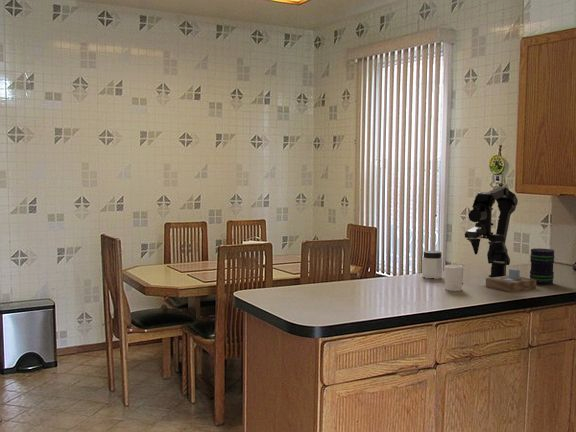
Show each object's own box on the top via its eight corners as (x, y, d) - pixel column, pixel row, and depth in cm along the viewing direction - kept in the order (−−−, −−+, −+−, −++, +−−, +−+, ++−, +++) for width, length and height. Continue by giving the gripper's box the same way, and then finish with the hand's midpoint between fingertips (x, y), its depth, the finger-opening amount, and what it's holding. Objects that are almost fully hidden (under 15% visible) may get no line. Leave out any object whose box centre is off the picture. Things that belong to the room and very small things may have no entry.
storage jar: (549, 281, 282) (550, 248, 281) (556, 285, 272) (557, 251, 271) (526, 281, 283) (527, 248, 282) (532, 285, 273) (534, 251, 272)
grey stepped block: (511, 284, 272) (512, 268, 271) (519, 286, 268) (519, 269, 268) (501, 285, 269) (502, 269, 268) (509, 287, 265) (509, 271, 265)
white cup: (441, 290, 262) (442, 266, 261) (446, 287, 269) (446, 264, 268) (460, 292, 259) (461, 268, 258) (464, 288, 266) (465, 265, 265)
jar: (434, 279, 286) (434, 253, 285) (419, 277, 292) (419, 251, 291) (444, 277, 292) (445, 251, 291) (429, 275, 298) (430, 250, 297)
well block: (512, 283, 278) (512, 275, 278) (536, 288, 267) (536, 279, 266) (485, 286, 271) (485, 278, 270) (509, 292, 259) (509, 283, 259)
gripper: (455, 219, 282) (455, 254, 283) (487, 223, 266) (486, 259, 267) (474, 218, 287) (473, 252, 289) (506, 222, 271) (504, 258, 272)
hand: (483, 255), depth 279 cm, fingers open, 9 cm apart
